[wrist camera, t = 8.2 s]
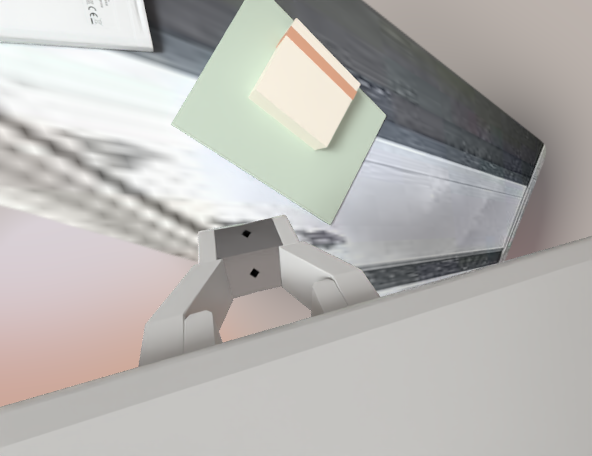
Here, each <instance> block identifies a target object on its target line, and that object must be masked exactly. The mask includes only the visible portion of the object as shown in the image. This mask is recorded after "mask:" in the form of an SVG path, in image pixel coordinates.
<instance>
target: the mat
mask: <svg viewBox="0 0 592 456" xmlns="http://www.w3.org/2000/svg"><path fill="white" fill-rule="evenodd" d="M292 23H293V20H292V19H291V18H290V17H289V15H288V14H287V13H286V12H285V11H284V10H283V9H282V8H281V7H280V6H279V5H278V4H277V3H276V2H275V1H274V0H245V1H244V3H243V4H242V6H241V8H240V9H239V11H238V13H237V14H236V16H235V18H234V19H233V21H232V23H231V24H230V26H229V28H228V29H227V31H226V33H225V34H224V36H223V38H222V39H221V41H220V43H219V45H218V46H217V48H216V50H215V51H214V53H213V55H212V56H211V58H210V60H209V61H208V63H207V65H206V66H205V68H204V70H203V71H202V73H201V75H200V76H199V78H198V80H197V81H196V83H195V85H194V87H193V88H192V90H191V92H190V93H189V95H188V97H187V98H186V100H185V102H184V103H183V105H182V107H181V108H180V110H179V112H178V113H177V115H176V117H175V118H174V120H173V122H172V123H171V125H172V126H174V127H176V128H177V129H179V130H180V131H182V132H184V133H185V134H187V135H188V136H190V137H191V138H193V139H195V140H196V141H198V142H199V143H201V144H202V145H204V146H206V147H207V148H209V149H210V150H212V151H214V152H215V153H217V154H218V155H220V156H221V157H223V158H225V159H226V160H228V161H229V162H231V163H232V164H234V165H236V166H237V167H239V168H240V169H242V170H243V171H245V172H247V173H248V174H250V175H251V176H253V177H255V178H256V179H258V180H259V181H261V182H262V183H264V184H266V185H267V186H269V187H270V188H272V189H273V190H275V191H277V192H278V193H280V194H281V195H283V196H285V197H286V198H288V199H289V200H291V201H292V202H294V203H296V204H297V205H299V206H300V207H302V208H303V209H305V210H307V211H308V212H310V213H311V214H313V215H314V216H316V217H318V218H319V219H321V220H322V221H324V222H326V223H327V224H329V225H331V223H332V221H333V219H334V217H335V215H336V213H337V211H338V210H339V208H340V206H341V204H342V202H343V200H344V198H345V196H346V194H347V192H348V190H349V188H350V186H351V184H352V182H353V180H354V178H355V176H356V174H357V172H358V170H359V168H360V166H361V164H362V162H363V160H364V159H365V157H366V155H367V153H368V151H369V149H370V147H371V145H372V143H373V141H374V139H375V137H376V135H377V133H378V131H379V129H380V127H381V125H382V123H383V121H384V119H385V117H386V115H385V114H384V113H383V112H382V111H381V110H380V109H379V107H378V106H377V105H376V104H375V103H374V102H373V101H372V100H371V99H370V98H369V97H368V96H367V95H366V94H365V93H364V92H363V91H362V90H361V89H360V88H358V90H357V93H356V95H355V97H354V99H353V100H352V101H351V103H350V105H349V107H348V109H347V111H346V112H345V114H344V116H343V118H342V120H341V122H340V124H339V126H338V128H337V129H336V131H335V133H334V135H333V137H332V139H331V141H330V143H329V144H328V146H327V147H326V148H322V149H318V150H314V149H313V148H312V147H310V146H309V145H308V144H306V143H305V142H304V141H303V140H301V139H300V138H299V137H297V136H296V135H295V134H294V133H292V132H291V131H290V130H288V129H287V128H286V127H285V126H283V125H282V124H281V123H279V122H278V121H277V120H276V119H274V118H273V117H272V116H271V115H269V114H268V113H267V112H265V111H264V110H263V109H262V108H260V107H259V106H258V105H256V104H255V103H254V102H253V101H251V100H250V99H249V98H248V97H249V95H250V93H251V91H252V90H253V88H254V86H255V84H256V83H257V81H258V79H259V77H260V76H261V74H262V72H263V70H264V69H265V67H266V65H267V63H268V62H269V60H270V58H271V56H272V55H273V53H274V51H275V49H276V47H277V45H278V43H279V41H280V40H281V38H282V37H283V35H284V34H285V32H286V31H287V29H288V28H289V27H290V25H291V24H292Z"/></svg>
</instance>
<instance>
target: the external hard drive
mask: <svg viewBox="0 0 592 456" xmlns="http://www.w3.org/2000/svg"><path fill="white" fill-rule="evenodd" d="M0 42H6V43H22V44H37V45H53V46H67V47H83V48H98V49H114V50H129V51H144V52H153V44H152V39H151V34H150V30H149V25H148V20H147V16H146V11H145V6H144V1H143V0H0Z"/></svg>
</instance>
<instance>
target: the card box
mask: <svg viewBox="0 0 592 456" xmlns="http://www.w3.org/2000/svg"><path fill="white" fill-rule="evenodd" d="M359 86H360V83H359V82H358V81H357V80H356V79H355V78H354V77H353V76H352V75H351V74H350V73H349V72H348V71H347V70H346V69H345V68H344V66H343V65H342V64H341V63H340V62H339V61H338V60H337V59H336V58H335V57H334V56H333V55H332V54H331V53H330V52H329V51H328V50H327V49H326V48H325V47H324V46H323V45H322V44H321V43H320V42H319V41H318V40H317V39H316V38H315V36H314V35H313V34H312V33H311V32H310V31H309V30H308V29H307V28H306V27H305V26H304V25H303V24H302V23H301V22H300V21H299V20H298V19H297V18H296V19H295V20H294V21H293V23H292V24H291V25H290V27H289V28H288V29H287V31H286V32H285V34H284V35H283V37H282V38H281V40H280V41H279V43H278V45H277V47H276V49H275V51H274V53H273V55H272V56H271V58H270V60H269V62H268V63H267V65H266V67H265V69H264V70H263V72H262V74H261V76H260V77H259V79H258V81H257V83H256V84H255V86H254V88H253V90H252V91H251V93H250V95H249V97H248V98H249V99H250V100H251V101H253V102H254V103H255V104H256V105H258V106H259V107H260V108H262V109H263V110H264V111H265V112H267V113H268V114H269V115H271V116H272V117H273V118H274V119H276V120H277V121H278V122H279V123H281V124H282V125H283V126H285V127H286V128H287V129H288V130H290V131H291V132H292V133H294V134H295V135H296V136H297V137H299V138H300V139H301V140H303V141H304V142H305V143H306V144H308V145H309V146H310V147H312V148H313V149H314V150H318V149H322V148H326V147H327V146H328V144H329V143H330V141H331V139H332V137H333V135H334V133H335V131H336V129H337V128H338V126H339V124H340V122H341V120H342V118H343V116H344V114H345V112H346V111H347V109H348V107H349V105H350V103H351V101H352V100H353V99H354V97H355V95H356V93H357V90H358V88H359Z"/></svg>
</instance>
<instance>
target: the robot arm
mask: <svg viewBox="0 0 592 456" xmlns="http://www.w3.org/2000/svg"><path fill="white" fill-rule="evenodd" d="M198 258H199V264H196V265H194V266H193V267H192V268H191V269H190V270H189V272H188V273H187V274H186V275H185V277H184V278H183V279H182V280H181V282H180V283H179V284H178V285H177V286H176V288H175V289H174V290H173V291H172V293H171V294H170V295H169V296H168V297H167V299H166V300H165V301H164V302H163V304H162V305H161V306H160V307H159V308H158V310H157V311H156V312H155V313H154V314H153V316H152V317H151V318H150V319H149V321H148V322H147V323H146V325H145V329H144V335H143V342H142V348H141V354H140V360H139V367H137V368H134V369H130V370H127V371H123V372H120V373H116V374H113V375H109V376H106V377H102V378H99V379H96V380H92V381H89V382H85V383H82V384H79V385H75V386H71V387H68V388H65V389H61V390H57V391H54V392H51V393H47V394H44V395H40V396H37V397H33V398H30V399H26V400H23V401H19V402H16V403H13V404H9V405H6V406H2V407H0V456H592V236H590V237H587V238H583V239H580V240H577V241H573V242H569V243H566V244H563V245H559V246H556V247H552V248H549V249H545V250H542V251H538V252H535V253H532V254H528V255H524V256H521V257H517V258H514V259H511V260H507V261H504V262H500V263H497V264H493V265H490V266H486V267H483V268H479V269H476V270H473V271H469V272H466V273H462V274H459V275H455V276H452V277H448V278H445V279H441V280H438V281H435V282H431V283H428V284H424V285H421V286H417V287H414V288H410V289H407V290H403V291H400V292H396V293H393V294H390V295H386V296H383V297H380V296H379V294H378V293H377V292H376V290H375V289H374V287H373V286H372V284H371V283H370V281H369V280H368V279H367V277H366V276H365V274H364V273H363V271H362V270H361V269H359V268H357V267H355V266H353V265H351V264H349V263H347V262H345V261H343V260H341V259H339V258H337V257H335V256H333V255H331V254H329V253H327V252H325V251H323V250H321V249H319V248H317V247H315V246H313V245H311V244H309V243H307V242H305V241H301V242H299V240H298V238H297V236H296V234H295V232H294V230H293V228H292V226H291V224H290V222H289V220H288V218H287V216H286V215H281V216H277V217H272V218H269V219H264V220H259V221H255V222H250V223H245V224H244V223H243V224H237V225H231V226H225V227H220V228H214V229H208V230H203V231H199V232H198ZM280 286H282V288H284V289H285V290H286V291H287V292H289V293H290V294H291V295H292V296H293V297H295V298H296V299H297V300H298V301H300V302H301V303H302V304H303V305H305V306H306V307H307V308H308V309H310V310H311V317H310V318H306V319H303V320H300V321H296V322H293V323H290V324H286V325H283V326H279V327H276V328H272V329H269V330H265V331H262V332H258V333H255V334H251V335H248V336H244V337H241V338H238V339H234V340H230V341H227V342H224V343H223V342H222V340H221V337H220V334H219V330H220V328H221V325H222V323H223V321H224V319H225V317H226V314H227V312H228V310H229V308H230V305H231V303H232V301H233V298H237V297H240V296H244V295H248V294H251V293H255V292H257V291H263V290H267V289H272V288H276V287H280Z"/></svg>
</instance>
